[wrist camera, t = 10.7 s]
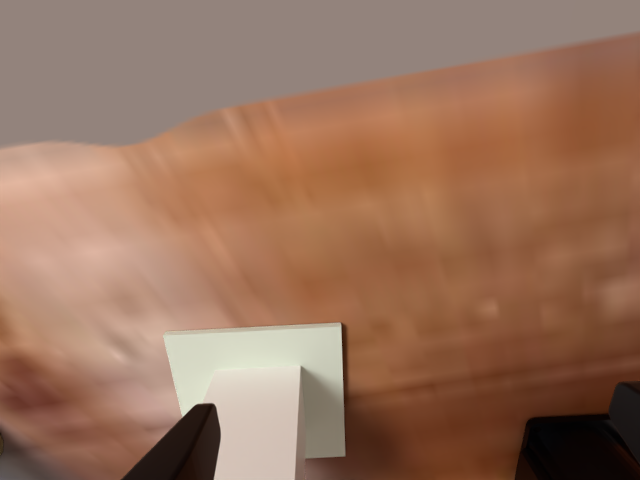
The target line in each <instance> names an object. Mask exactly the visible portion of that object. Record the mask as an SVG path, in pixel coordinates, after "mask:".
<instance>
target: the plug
mask: <svg viewBox="0 0 640 480" xmlns="http://www.w3.org/2000/svg"><path fill="white" fill-rule="evenodd" d="M203 403H214V404H215V406H216V408H217V413H218V419H219V424H220V429H221V441H220V447H219V453H218V459H217V464H216V470H215V476H214V480H305V456H306V423H305V411H304V399H303V388H302V376H301V365H298V366H279V367H261V368H242V369H224V370H215V372H214V374H213V377H212V380H211V382H210V385H209V387H208V390H207V393H206V395H205V398H204V400H203Z"/></svg>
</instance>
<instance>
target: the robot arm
mask: <svg viewBox="0 0 640 480" xmlns="http://www.w3.org/2000/svg"><path fill="white" fill-rule="evenodd" d="M220 441H221V429H220V424H219V419H218V413H217V408H216V406H215V404H214V403H200V404H196V405H194V406H193V407H192V408H191V409H190V410H189V411H188V412H187V413H186V414H185V415H184V416H183V417H182V418H181V419H180V420H179V421H178V422H177V423H176V424H175V425H174V426H173V427H172V428H171V429H170V430H169V431H168V432H167V433H166V435H165V436H164V437H163V438H162V439H161V440H160V441H159V442H158V443H157V444H156V445H155V446H154V447H153V448H152V449H151V450H150V451H149V452H148V453H147V454H146V455H145V456H144V457H143V458H142V459H141V460H140V461H139V462H138V463H137V464H136V465H135V466H134V467H133V468H132V469H131V470H130V471H129V472H128V473H127V474H126V475H125V476H124V477H123V478H122V479H121V480H214V476H215V470H216V464H217V459H218V453H219V447H220ZM515 480H640V381H626V382H619V383H618V384H617V385H616V387H615V390H614V393H613V396H612V400H611V403H610V406H609V414H607V415H588V416H568V417H549V418H534V419H531V420H529V421H528V422H527V423H526V427H525V432H524V437H523V442H522V447H521V451H520V455H519V460H518V465H517V470H516V475H515Z"/></svg>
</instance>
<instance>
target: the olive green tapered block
mask: <svg viewBox="0 0 640 480" xmlns="http://www.w3.org/2000/svg"><path fill="white" fill-rule="evenodd" d="M2 452H3V439H2V437H1V434H0V456H1V454H2Z"/></svg>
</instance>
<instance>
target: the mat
mask: <svg viewBox="0 0 640 480" xmlns="http://www.w3.org/2000/svg"><path fill="white" fill-rule="evenodd" d="M163 338H164V342H165V346H166V350H167V354H168V359H169V363H170V367H171V371H172V375H173V380H174V384H175V388H176V392H177V396H178V401H179V405H180V409H181V413H182V417H183V416H184V415H185V414H186V413H187V412H188V411H189V410H190V409H191V408H192V407H193V406H194V405H196V404H200V403H203V400H204V398H205V395H206V393H207V390H208V387H209V385H210V382H211V380H212V377H213V374H214V372H215V370H224V369H242V368H261V367H279V366H298V365H301V376H302V388H303V399H304V411H305V423H306V456H305V458H324V457H344V456H345V427H344V396H343V364H342V333H341V323H322V324H302V325H283V326H263V327H244V328H225V329H205V330H186V331H166V332H165V334H164V335H163Z"/></svg>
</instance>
